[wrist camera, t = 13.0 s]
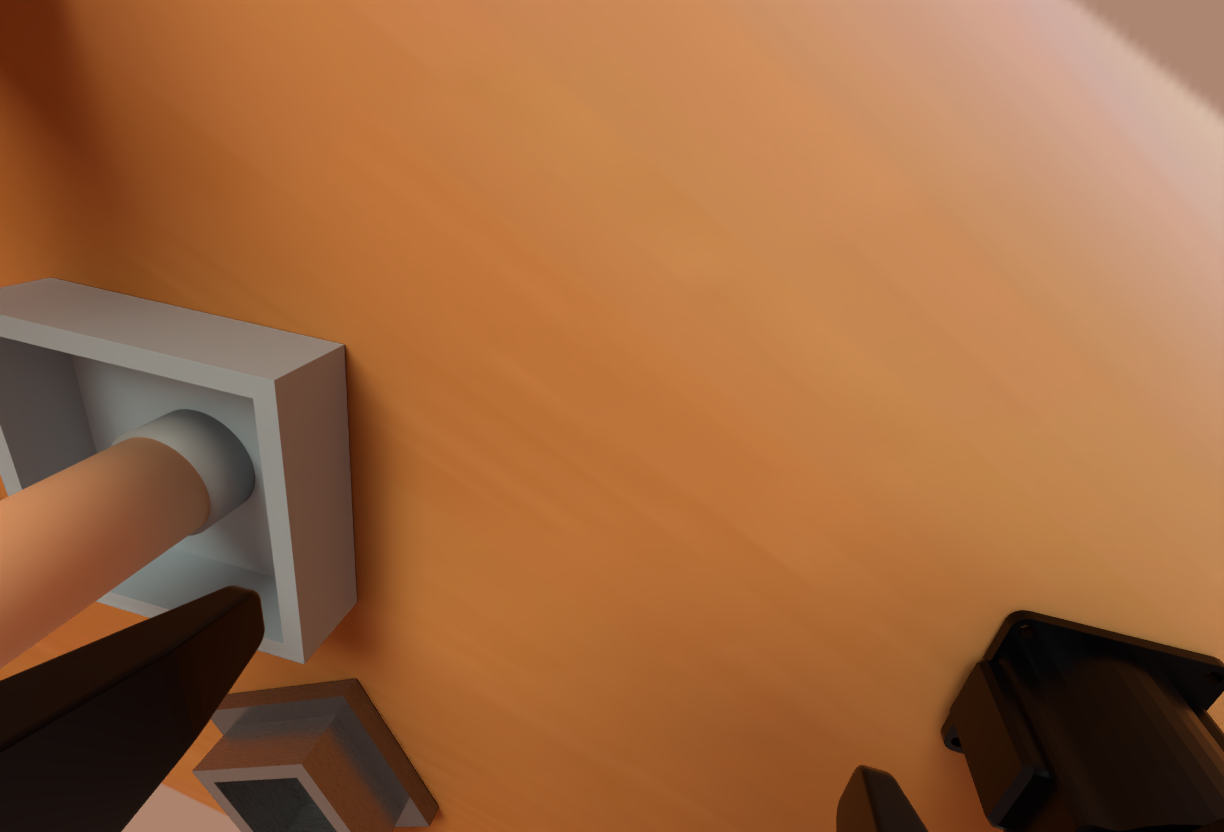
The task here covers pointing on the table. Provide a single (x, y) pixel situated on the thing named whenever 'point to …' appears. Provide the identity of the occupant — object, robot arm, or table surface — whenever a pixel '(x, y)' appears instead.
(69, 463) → the bin
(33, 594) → the tan rounded tapered piece
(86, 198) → the table surface
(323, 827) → the stud base
